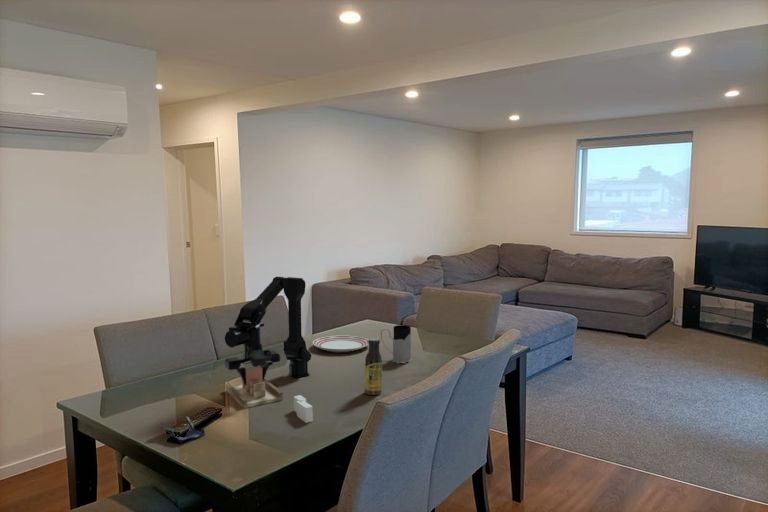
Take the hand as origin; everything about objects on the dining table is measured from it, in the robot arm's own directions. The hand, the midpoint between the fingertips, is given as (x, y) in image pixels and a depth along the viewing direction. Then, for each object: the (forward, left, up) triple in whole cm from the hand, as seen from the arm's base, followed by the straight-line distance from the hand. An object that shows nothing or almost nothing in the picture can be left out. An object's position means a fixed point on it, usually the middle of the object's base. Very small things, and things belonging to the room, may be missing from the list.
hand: (253, 383), depth 189 cm
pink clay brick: (0, 0, -2) cm, 2 cm away
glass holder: (-67, -7, -5) cm, 67 cm away
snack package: (+29, +21, -5) cm, 36 cm away
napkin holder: (-8, +27, -5) cm, 28 cm away
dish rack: (0, 0, -4) cm, 5 cm away
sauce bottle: (-37, +22, -5) cm, 43 cm away
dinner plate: (-57, -39, -5) cm, 69 cm away
